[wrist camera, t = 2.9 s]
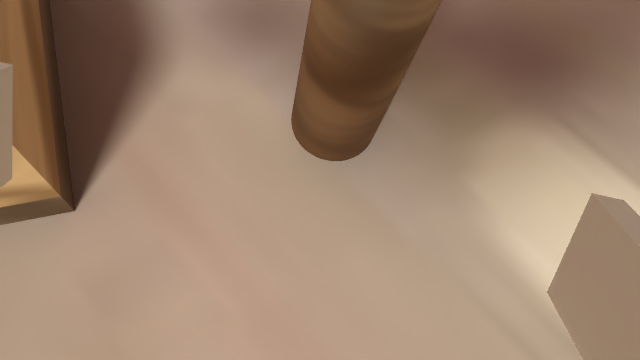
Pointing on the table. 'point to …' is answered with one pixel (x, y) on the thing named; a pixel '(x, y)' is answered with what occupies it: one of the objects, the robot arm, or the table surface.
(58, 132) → the socket block
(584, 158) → the table surface
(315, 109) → the pin
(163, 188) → the table surface
